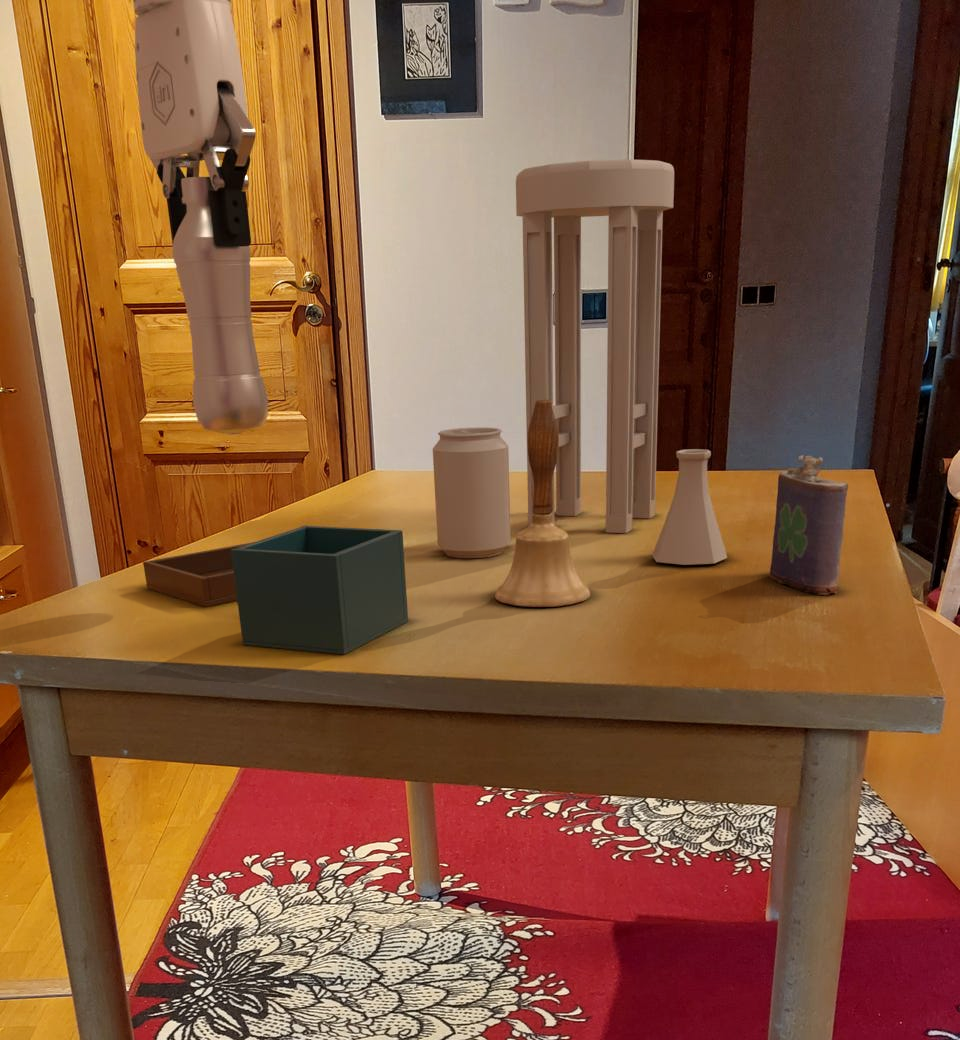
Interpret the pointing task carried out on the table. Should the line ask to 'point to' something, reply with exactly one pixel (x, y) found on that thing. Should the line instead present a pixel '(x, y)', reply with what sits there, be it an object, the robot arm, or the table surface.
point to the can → (472, 492)
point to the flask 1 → (691, 517)
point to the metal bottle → (218, 320)
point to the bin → (321, 588)
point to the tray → (195, 576)
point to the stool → (631, 320)
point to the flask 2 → (808, 529)
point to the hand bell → (542, 531)
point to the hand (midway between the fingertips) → (211, 246)
